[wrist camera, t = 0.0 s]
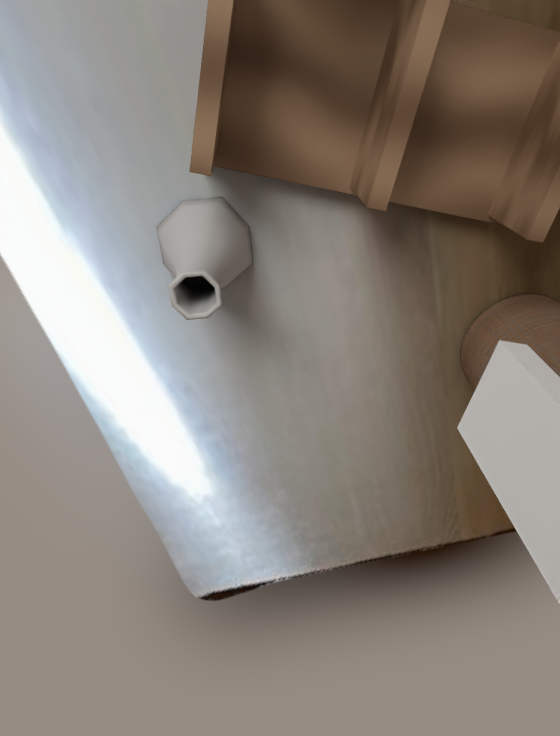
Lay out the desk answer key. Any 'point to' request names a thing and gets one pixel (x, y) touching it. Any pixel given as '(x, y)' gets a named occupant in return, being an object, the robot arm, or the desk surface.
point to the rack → (386, 104)
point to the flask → (203, 253)
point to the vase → (513, 332)
